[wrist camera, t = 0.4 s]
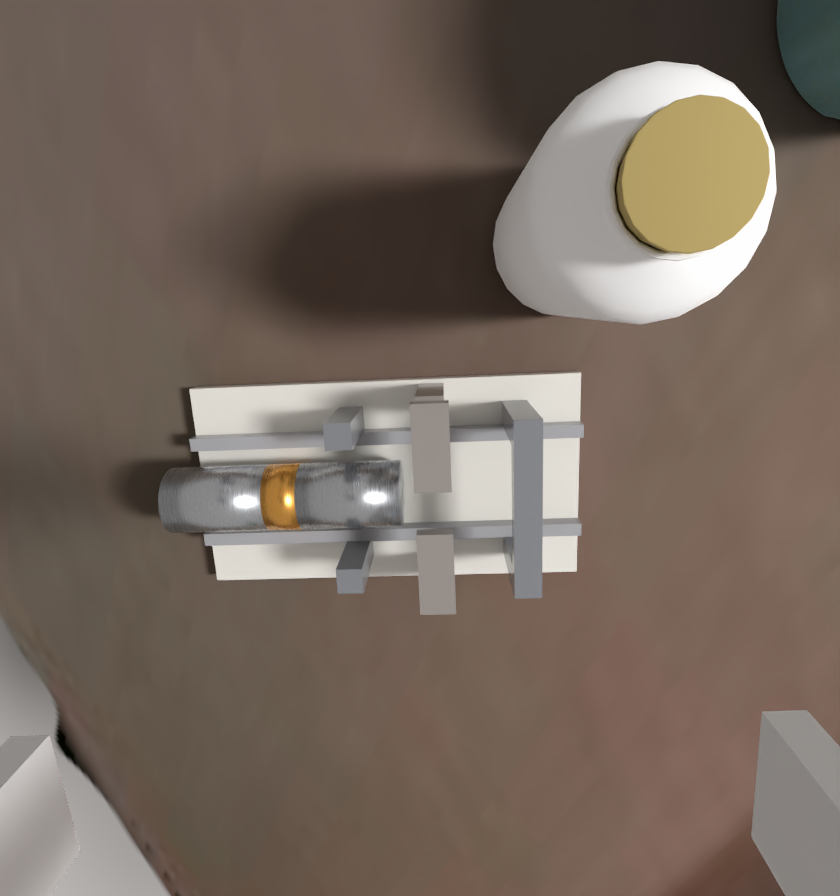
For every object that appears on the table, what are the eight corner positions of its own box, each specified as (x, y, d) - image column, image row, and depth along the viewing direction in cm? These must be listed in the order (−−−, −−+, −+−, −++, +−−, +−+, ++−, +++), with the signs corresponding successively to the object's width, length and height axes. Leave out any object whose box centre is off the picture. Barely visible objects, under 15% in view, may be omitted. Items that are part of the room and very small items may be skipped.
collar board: (195, 386, 36) (139, 406, 29) (577, 370, 35) (609, 387, 28) (222, 573, 39) (177, 629, 33) (573, 564, 38) (601, 621, 31)
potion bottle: (517, 336, 35) (593, 370, 17) (471, 199, 33) (503, 81, 15) (651, 285, 34) (877, 266, 16) (611, 141, 32) (818, -56, 14)
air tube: (193, 518, 37) (164, 544, 33) (183, 459, 36) (153, 479, 32) (405, 511, 37) (401, 537, 33) (402, 452, 36) (397, 471, 32)
